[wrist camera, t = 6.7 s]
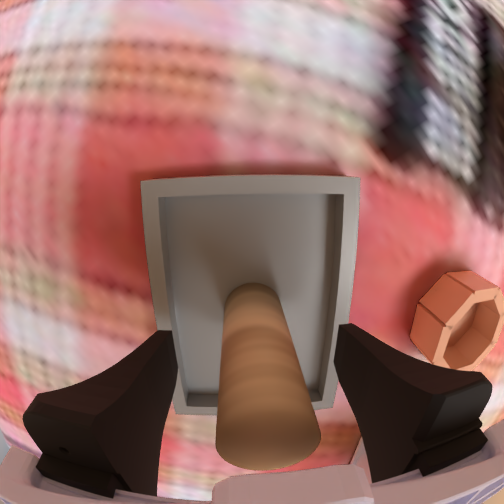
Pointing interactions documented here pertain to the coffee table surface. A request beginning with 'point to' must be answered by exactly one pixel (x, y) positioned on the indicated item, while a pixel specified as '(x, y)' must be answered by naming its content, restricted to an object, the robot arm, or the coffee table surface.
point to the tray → (250, 267)
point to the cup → (458, 320)
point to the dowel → (261, 386)
